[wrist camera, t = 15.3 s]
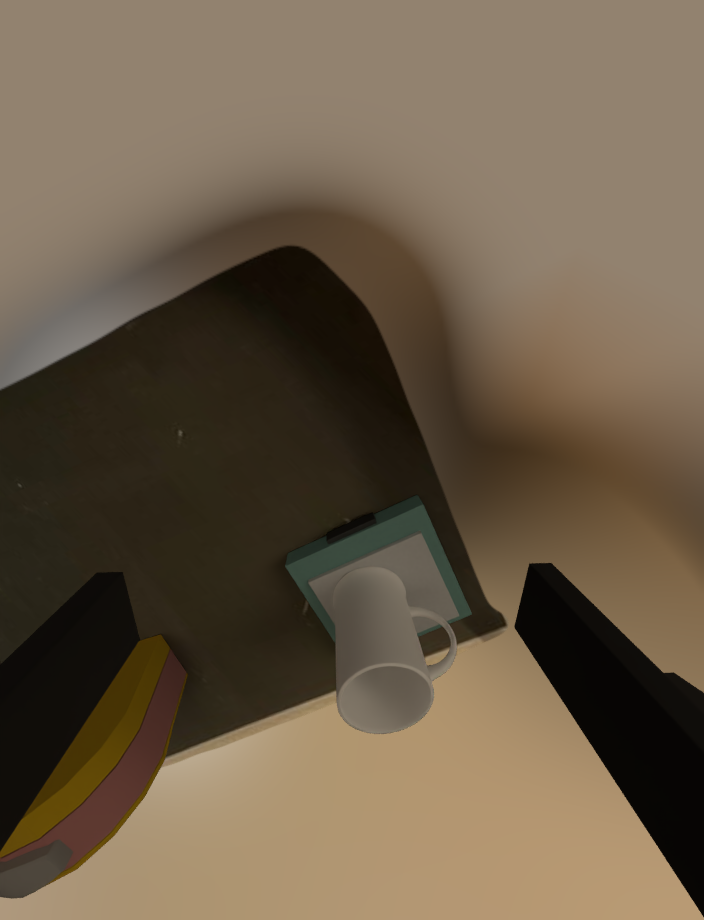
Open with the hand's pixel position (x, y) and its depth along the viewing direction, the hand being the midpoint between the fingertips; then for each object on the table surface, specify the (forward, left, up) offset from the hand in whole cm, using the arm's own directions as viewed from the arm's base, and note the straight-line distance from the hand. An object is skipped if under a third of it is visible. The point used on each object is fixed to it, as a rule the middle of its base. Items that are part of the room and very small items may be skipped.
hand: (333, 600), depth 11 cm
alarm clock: (+26, +33, -25) cm, 49 cm away
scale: (-6, +19, -25) cm, 32 cm away
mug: (-6, +19, -22) cm, 30 cm away
